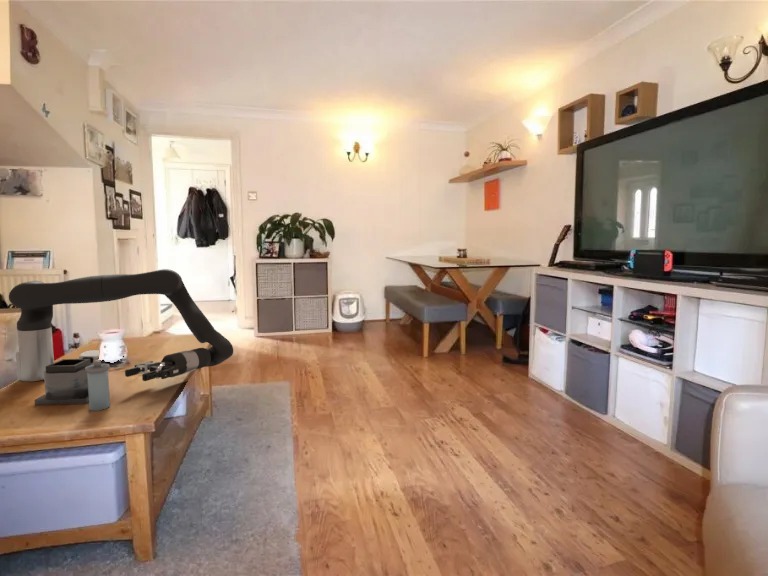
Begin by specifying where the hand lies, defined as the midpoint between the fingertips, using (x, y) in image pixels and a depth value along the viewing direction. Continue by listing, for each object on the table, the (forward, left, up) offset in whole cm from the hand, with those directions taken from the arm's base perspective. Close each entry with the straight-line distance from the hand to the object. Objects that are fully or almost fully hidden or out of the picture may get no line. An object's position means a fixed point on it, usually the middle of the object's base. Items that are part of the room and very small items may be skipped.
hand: (134, 375), depth 135 cm
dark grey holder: (-18, 0, -7) cm, 19 cm away
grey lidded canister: (-6, -9, -7) cm, 12 cm away
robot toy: (-29, +39, -7) cm, 49 cm away
